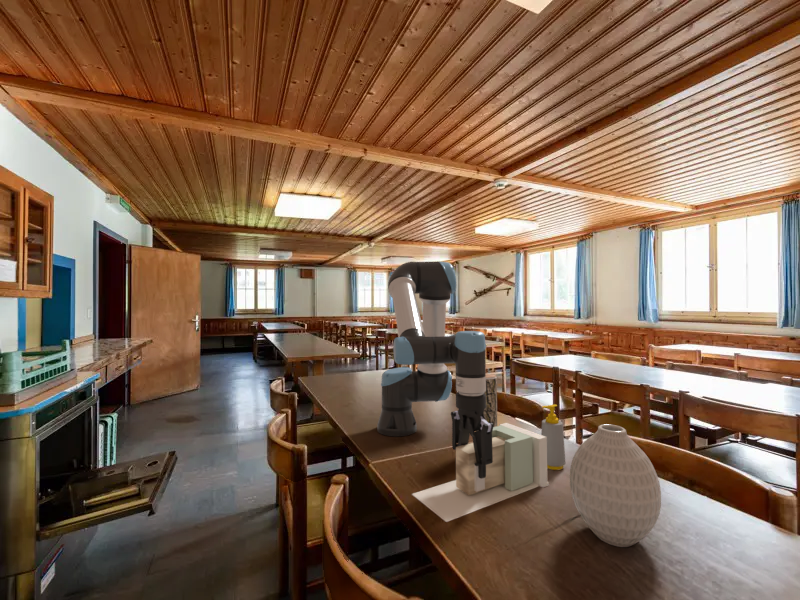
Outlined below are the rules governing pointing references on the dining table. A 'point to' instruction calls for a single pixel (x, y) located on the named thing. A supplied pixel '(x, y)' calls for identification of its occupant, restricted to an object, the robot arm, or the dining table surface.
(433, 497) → the track
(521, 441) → the socket block
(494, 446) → the beige wooden block
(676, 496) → the dining table surface
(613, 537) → the vase
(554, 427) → the soap bottle
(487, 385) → the bark log
